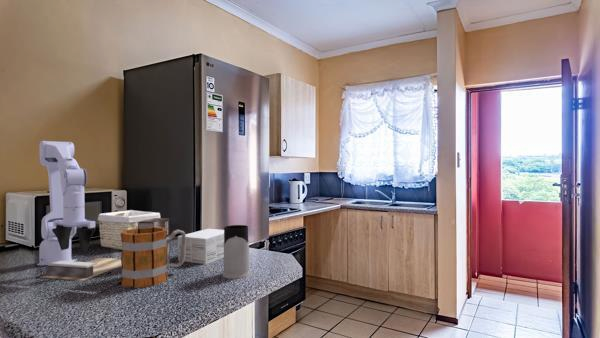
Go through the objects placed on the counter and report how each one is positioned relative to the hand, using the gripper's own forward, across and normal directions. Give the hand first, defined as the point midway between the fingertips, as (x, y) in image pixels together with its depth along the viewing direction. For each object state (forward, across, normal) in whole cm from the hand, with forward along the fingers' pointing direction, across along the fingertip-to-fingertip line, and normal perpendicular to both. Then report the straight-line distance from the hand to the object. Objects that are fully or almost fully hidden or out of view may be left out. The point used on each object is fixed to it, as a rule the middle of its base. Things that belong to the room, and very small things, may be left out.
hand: (74, 249), depth 111 cm
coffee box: (+8, -18, -15) cm, 25 cm away
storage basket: (+9, +14, -41) cm, 44 cm away
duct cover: (+5, 0, +1) cm, 5 cm away
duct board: (+8, 0, -7) cm, 11 cm away
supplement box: (+8, -29, -31) cm, 43 cm away
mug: (+8, -27, -4) cm, 28 cm away
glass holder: (+8, -49, -15) cm, 52 cm away
